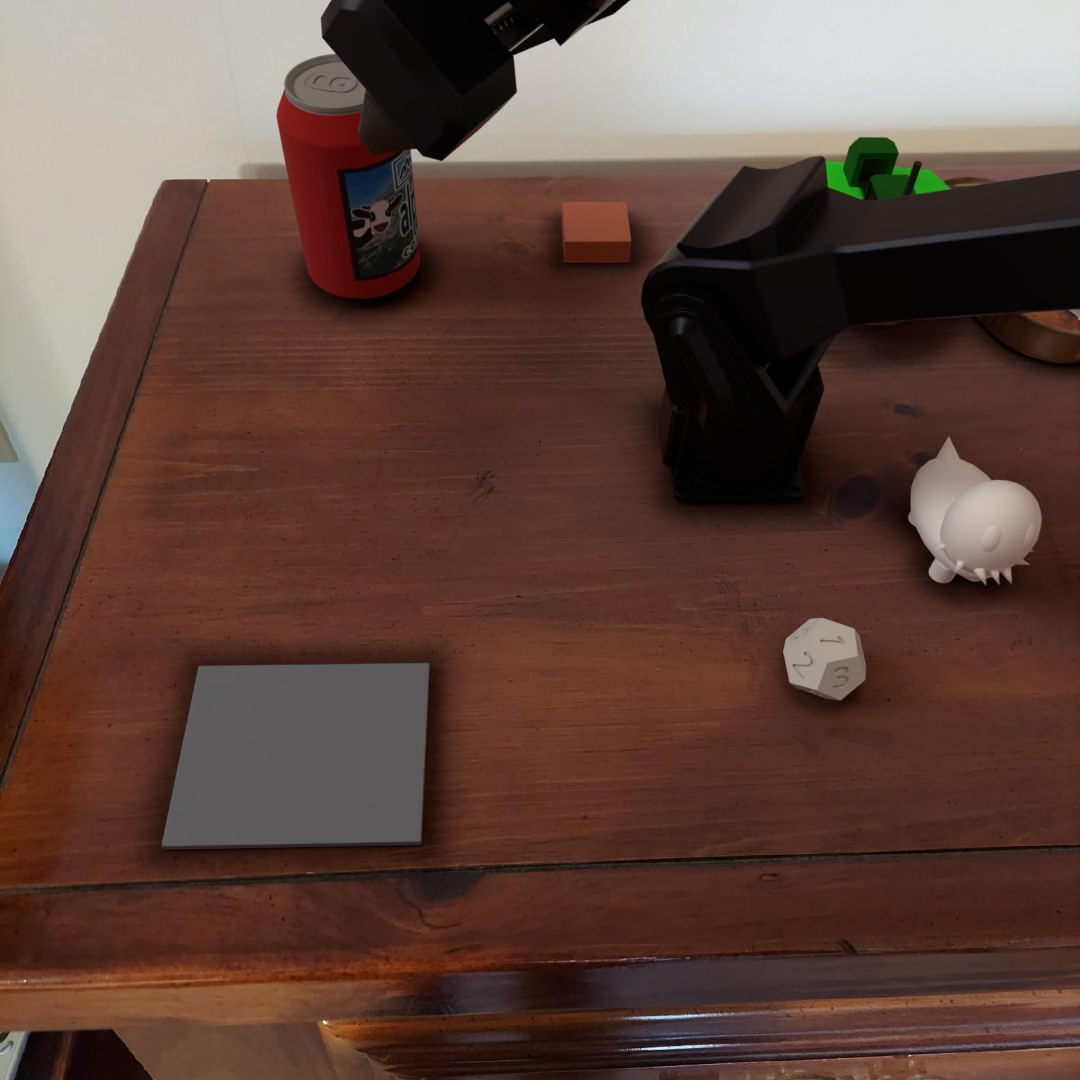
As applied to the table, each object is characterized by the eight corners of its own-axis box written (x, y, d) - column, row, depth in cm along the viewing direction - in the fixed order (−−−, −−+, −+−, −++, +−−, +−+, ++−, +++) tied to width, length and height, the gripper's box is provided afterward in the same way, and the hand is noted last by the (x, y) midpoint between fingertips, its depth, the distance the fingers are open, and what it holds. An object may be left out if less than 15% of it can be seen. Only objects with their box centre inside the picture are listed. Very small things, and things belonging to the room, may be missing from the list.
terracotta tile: (624, 223, 64) (626, 201, 63) (629, 263, 62) (631, 241, 60) (561, 223, 64) (562, 201, 63) (563, 263, 62) (564, 241, 60)
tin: (892, 191, 62) (1006, 156, 64) (880, 234, 64) (990, 199, 66) (1054, 348, 54) (1180, 304, 55) (1032, 390, 56) (1154, 346, 58)
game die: (771, 638, 45) (785, 602, 43) (854, 645, 45) (873, 608, 43) (776, 708, 43) (791, 673, 41) (863, 715, 43) (883, 681, 41)
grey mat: (430, 667, 44) (429, 662, 44) (422, 845, 39) (421, 841, 39) (200, 670, 44) (198, 665, 44) (163, 850, 39) (160, 846, 39)
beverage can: (403, 317, 58) (381, 123, 49) (292, 300, 59) (249, 106, 49) (434, 246, 62) (419, 54, 53) (330, 231, 63) (296, 39, 53)
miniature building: (979, 367, 56) (1064, 194, 47) (770, 367, 56) (817, 193, 47) (925, 235, 63) (990, 64, 55) (740, 235, 63) (776, 63, 54)
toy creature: (927, 621, 46) (977, 539, 41) (878, 487, 51) (918, 399, 46) (1024, 616, 46) (1086, 533, 41) (966, 483, 51) (1016, 395, 46)
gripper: (623, -445, 36) (424, -125, 49) (290, -330, 27) (148, 33, 39) (804, -169, 39) (572, 66, 52) (564, 26, 30) (350, 257, 42)
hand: (428, 97), depth 46 cm, fingers open, 9 cm apart
